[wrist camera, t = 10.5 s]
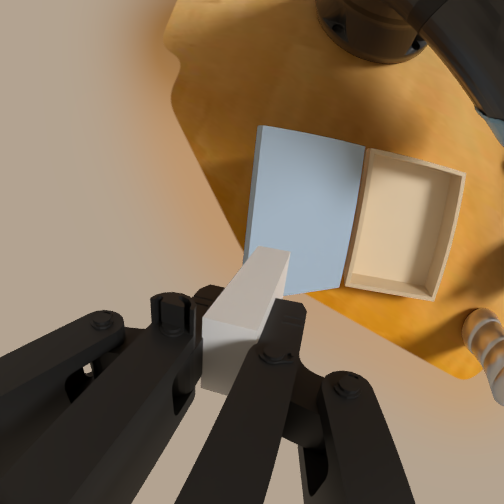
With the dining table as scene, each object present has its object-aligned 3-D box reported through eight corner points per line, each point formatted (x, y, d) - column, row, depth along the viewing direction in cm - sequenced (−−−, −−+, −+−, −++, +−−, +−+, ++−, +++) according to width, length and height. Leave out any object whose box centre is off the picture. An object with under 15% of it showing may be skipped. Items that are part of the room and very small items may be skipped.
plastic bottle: (456, 345, 36) (500, 440, 18) (458, 308, 35) (516, 401, 16) (489, 334, 34) (541, 420, 16) (492, 297, 33) (559, 379, 14)
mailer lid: (365, 146, 28) (358, 145, 29) (262, 125, 23) (257, 125, 24) (339, 287, 34) (334, 283, 34) (243, 301, 28) (239, 296, 29)
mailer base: (365, 149, 32) (370, 147, 29) (453, 171, 30) (466, 173, 26) (343, 273, 38) (344, 286, 34) (425, 288, 35) (433, 301, 32)
